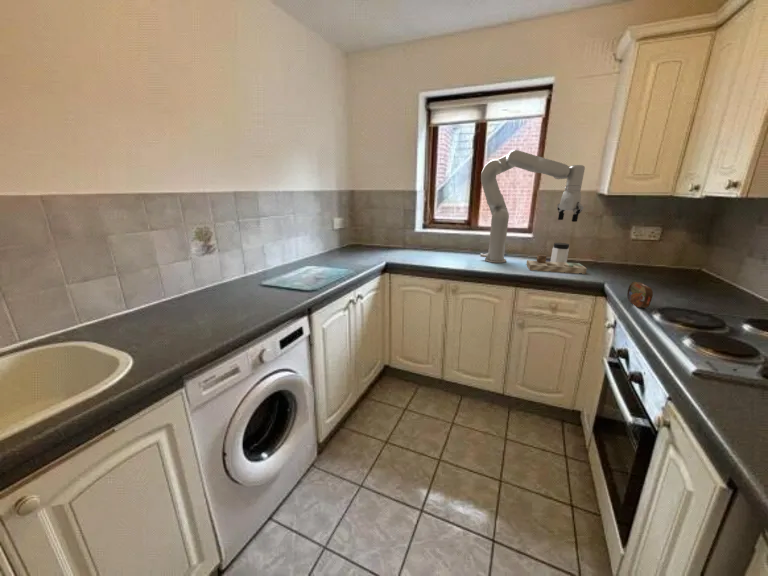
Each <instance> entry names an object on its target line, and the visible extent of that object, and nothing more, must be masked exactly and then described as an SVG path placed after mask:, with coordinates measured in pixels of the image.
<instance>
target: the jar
mask: <svg viewBox="0 0 768 576" xmlns="http://www.w3.org/2000/svg"><path fill="white" fill-rule="evenodd" d="M569 247H570V244H569V243H566V242H554V243H553V247H552V251H551V254H550V255H551V256H550V261H549V262H565V263H568V257H569V251H570V248H569Z"/></svg>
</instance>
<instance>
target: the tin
mask: <svg viewBox="0 0 768 576" xmlns="http://www.w3.org/2000/svg"><path fill="white" fill-rule="evenodd" d="M626 295H627V296H626V297H627V300H628V302H629V303H630V304H632V305H634V307H636V308H640V309H647V308H648V307H649V306H650V305H651V303H652V299H653V296H654V292H653V289H652V287H650V286H648V285H646V284H644V283H642V282H639V281H632V282H631V283H630V284H629V287H628V290H627V294H626Z"/></svg>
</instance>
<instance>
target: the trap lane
mask: <svg viewBox="0 0 768 576" xmlns="http://www.w3.org/2000/svg"><path fill="white" fill-rule="evenodd" d="M525 263H526V264H525V265H527V266H526V267H527V268H528V270H529V271H533V270H537V271H538V272H549V271H551V273H564V272H565V273H567V274H568V273H569V274H579V273H582V275H585V274H586V273H587V270H588V269H587V267H586V266H584V265H583V264H581V263H579V262H578V263H577V262H567V263H565V262H550V261H546V262H545V263H538V262H537V260H526V262H525ZM537 271H536V272H537ZM586 275H587V274H586Z"/></svg>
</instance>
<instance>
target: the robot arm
mask: <svg viewBox="0 0 768 576" xmlns="http://www.w3.org/2000/svg"><path fill="white" fill-rule="evenodd" d="M514 168H518V169H522V170H524V171H528V172H530V173H535V174H538V173H539V174H543V175H546V176H550V177H553V178H554V179H555V180H565V179H566V183H565V187H564V191H563V193H562V195H561V198H560V202H559V203H558V204H556V208H557V212H558V217H557V221H563V220H564V218H565V217H564V216H565V211H572V212H573V214H572V218H571V222H572V223H573V222H575V223H578V218H579V215H580V214H581V213H582V211H583V209H584V208H585V206H584V205H583V204H581V201H582V192H581V190H582V187H583V186H582V184H583V180H584V175H585V169H586V168H585V166H584V165H582V164H576V165H575V164H573V165H568V164H567V163H562V162H560V161H555V160H552V159H548V158H546V157H542V156H538V155H535V154H531V153H528V152H525V151H522V150H518V149H511V150H510V151H509V152H508V154H506V155H503V156H502V157H500V158H497V159H496V158H493V159H491V160H489V161H488V162H487V163H486V164H485V165H484V167H483V168H482V171H481V173H480V182H481V186H482V189H483V192H484V193H483V194H484V196H485V200H486V204H487V206H488V208H489V211H490V213H491V221H490V222H491V223H490V232H489V243H488V244H489V245H488V252H487V253H480V255H479V256H480V257H481V258H484V261H485V262H488V263H489V262H490V263H493V264H495V263H497V264H503V263H506V262H507V259H506V258H505V251H506V243H507V235H508V234H507V233H508V226H509V219H510V214H509V211H508V208H507V205H506V202H505V199H504V196H503V194H502V193H501V190H500V188H499V187H500V186H499V183H498V181H497V176H498V175H500V174H502V173H504V172H507V171H509V170H511V169H514Z"/></svg>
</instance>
